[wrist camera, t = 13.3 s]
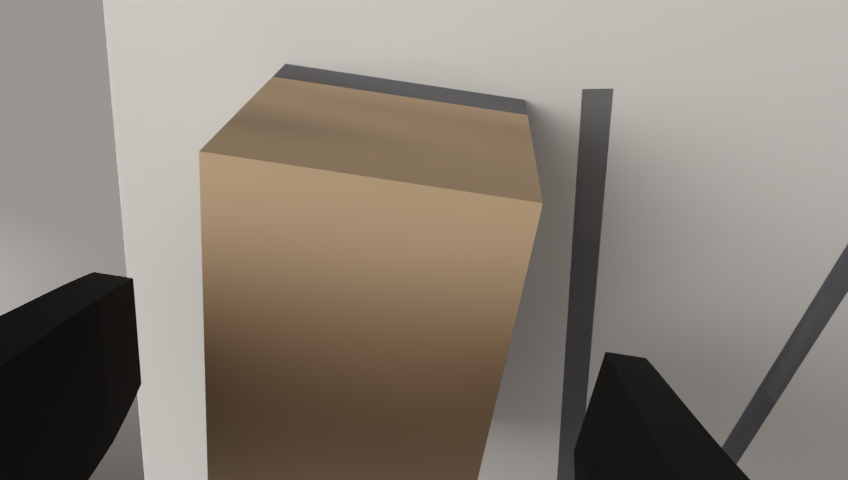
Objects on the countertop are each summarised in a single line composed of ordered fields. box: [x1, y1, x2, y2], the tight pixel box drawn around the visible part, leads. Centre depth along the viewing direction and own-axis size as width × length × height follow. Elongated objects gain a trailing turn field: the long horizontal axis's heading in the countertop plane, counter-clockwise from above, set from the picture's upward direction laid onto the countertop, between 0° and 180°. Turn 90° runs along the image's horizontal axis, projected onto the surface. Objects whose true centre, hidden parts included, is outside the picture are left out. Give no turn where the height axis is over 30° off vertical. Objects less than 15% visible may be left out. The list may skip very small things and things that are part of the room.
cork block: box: [199, 64, 543, 480], centre depth 11 cm, size 7×4×4 cm, turn 173°
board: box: [103, 0, 848, 480], centre depth 14 cm, size 16×24×1 cm, turn 82°
